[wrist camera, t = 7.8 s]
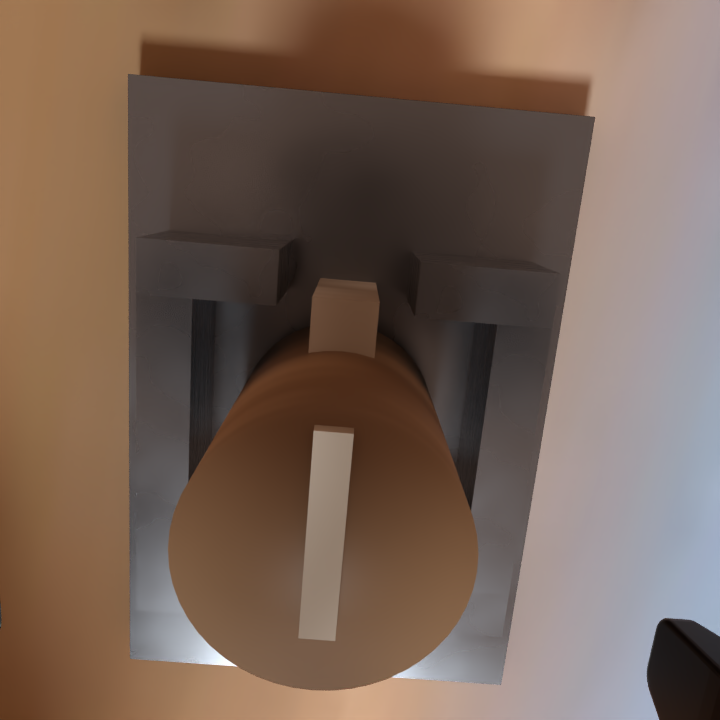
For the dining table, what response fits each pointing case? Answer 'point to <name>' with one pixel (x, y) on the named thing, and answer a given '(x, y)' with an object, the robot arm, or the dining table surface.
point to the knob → (327, 511)
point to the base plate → (354, 263)
